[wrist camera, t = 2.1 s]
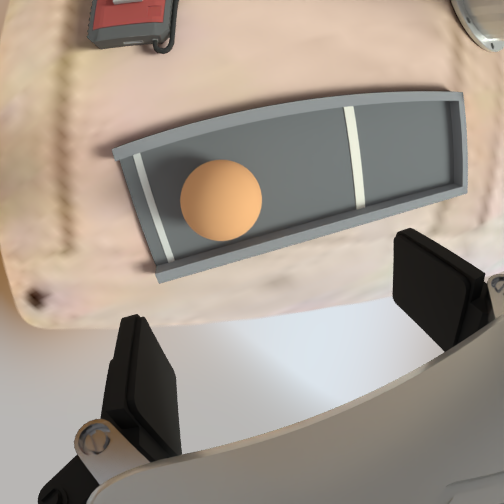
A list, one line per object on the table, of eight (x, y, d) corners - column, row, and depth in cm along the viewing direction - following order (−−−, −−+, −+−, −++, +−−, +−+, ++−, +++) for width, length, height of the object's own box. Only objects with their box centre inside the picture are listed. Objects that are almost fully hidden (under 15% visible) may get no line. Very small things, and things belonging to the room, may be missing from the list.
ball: (172, 166, 23) (168, 180, 18) (244, 147, 24) (261, 155, 19) (191, 233, 26) (194, 264, 21) (258, 214, 27) (278, 240, 21)
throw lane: (116, 147, 22) (111, 149, 20) (451, 91, 25) (462, 92, 24) (160, 273, 27) (159, 283, 26) (456, 188, 31) (467, 193, 29)
